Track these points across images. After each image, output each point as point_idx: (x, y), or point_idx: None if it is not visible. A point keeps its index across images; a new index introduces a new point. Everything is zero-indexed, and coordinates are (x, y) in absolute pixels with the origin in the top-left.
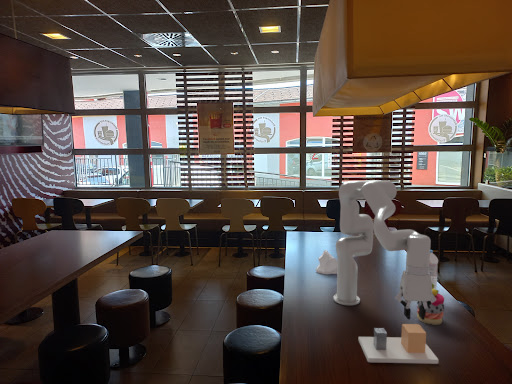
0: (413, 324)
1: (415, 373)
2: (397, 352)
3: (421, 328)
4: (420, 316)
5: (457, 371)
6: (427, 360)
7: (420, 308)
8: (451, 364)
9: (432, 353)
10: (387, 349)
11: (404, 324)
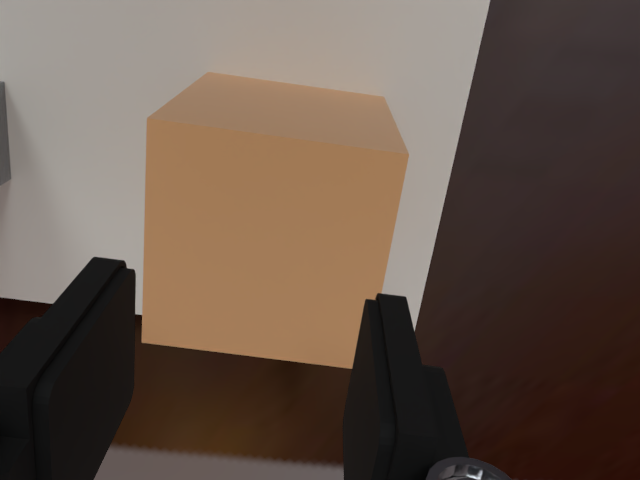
0: (318, 154)
1: (175, 403)
2: (106, 224)
3: (370, 270)
4: (354, 372)
5: (483, 413)
6: None
7: (365, 471)
8: (502, 345)
9: (418, 268)
10: (27, 170)
11: (176, 141)
